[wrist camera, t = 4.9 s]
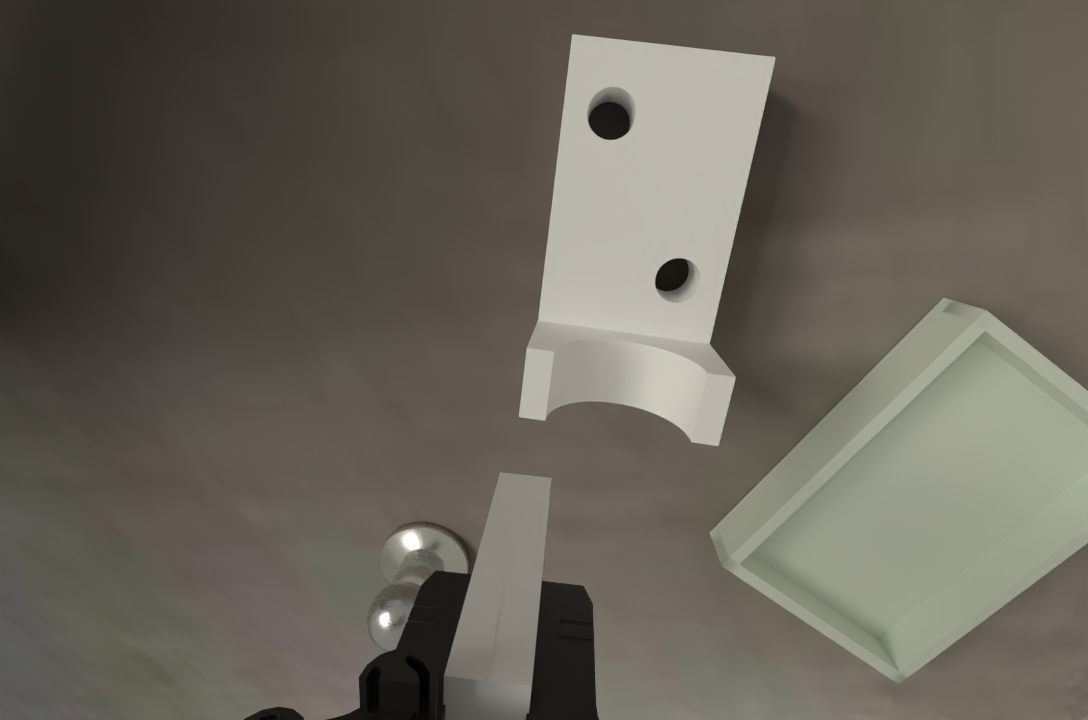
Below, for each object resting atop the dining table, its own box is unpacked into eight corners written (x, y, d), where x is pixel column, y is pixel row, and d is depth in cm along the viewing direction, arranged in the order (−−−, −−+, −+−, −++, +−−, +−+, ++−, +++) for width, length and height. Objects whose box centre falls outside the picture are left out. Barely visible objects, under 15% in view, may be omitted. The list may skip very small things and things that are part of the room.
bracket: (681, 374, 25) (718, 446, 18) (538, 354, 26) (519, 416, 18) (746, 78, 21) (826, 20, 14) (574, 59, 21) (567, -9, 14)
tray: (709, 532, 27) (721, 565, 25) (943, 297, 23) (986, 310, 20) (872, 642, 29) (898, 684, 26) (1125, 441, 24) (1186, 469, 22)
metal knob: (369, 564, 30) (319, 648, 25) (411, 506, 29) (368, 581, 23) (440, 608, 31) (408, 699, 25) (486, 553, 29) (462, 637, 24)
